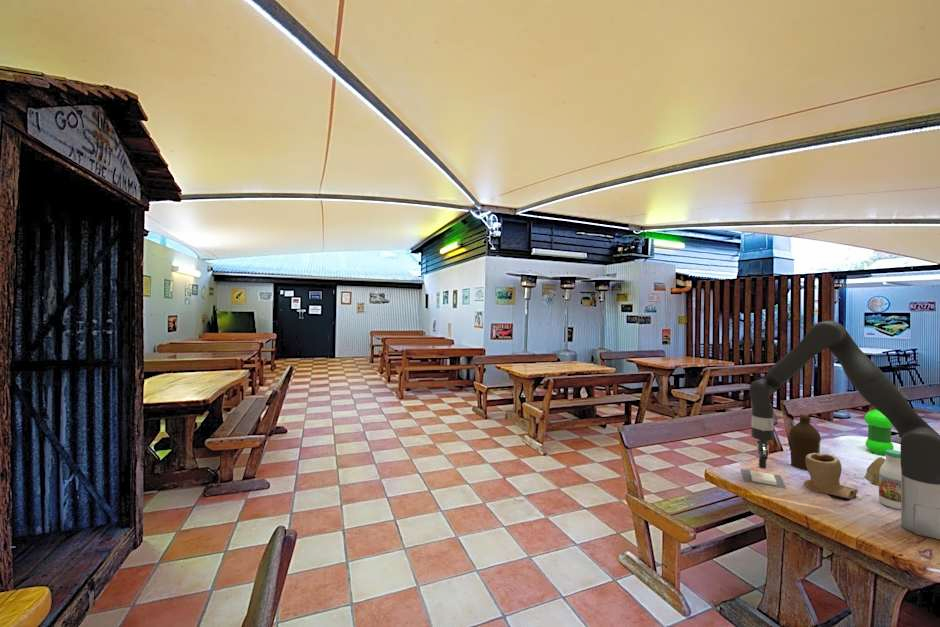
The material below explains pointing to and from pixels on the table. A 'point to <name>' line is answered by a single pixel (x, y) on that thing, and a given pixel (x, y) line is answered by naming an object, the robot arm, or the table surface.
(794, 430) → the olive oil
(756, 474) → the tile
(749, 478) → the mat
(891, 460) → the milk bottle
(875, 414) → the plastic bottle
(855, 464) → the table surface
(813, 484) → the tan hollow piece
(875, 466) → the rock
